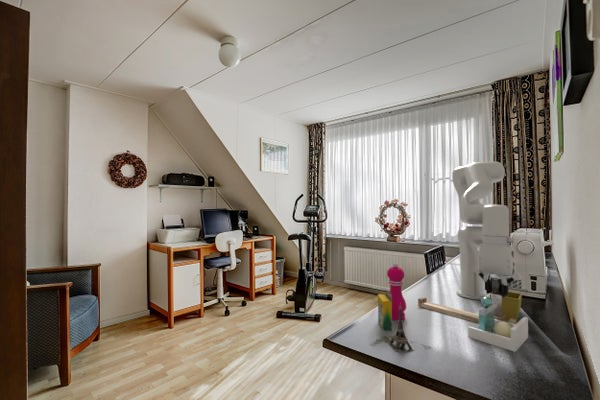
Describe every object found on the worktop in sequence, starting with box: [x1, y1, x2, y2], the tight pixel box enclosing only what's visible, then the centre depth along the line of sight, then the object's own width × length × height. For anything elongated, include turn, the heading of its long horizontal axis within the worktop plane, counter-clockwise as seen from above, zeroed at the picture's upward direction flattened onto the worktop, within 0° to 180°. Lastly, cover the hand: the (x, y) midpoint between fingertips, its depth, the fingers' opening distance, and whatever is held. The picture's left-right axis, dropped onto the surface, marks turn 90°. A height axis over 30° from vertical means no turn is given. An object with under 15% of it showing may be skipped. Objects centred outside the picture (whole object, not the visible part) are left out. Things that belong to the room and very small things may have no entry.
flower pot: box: [488, 291, 523, 322], centre depth 103 cm, size 9×9×9 cm
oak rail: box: [417, 296, 517, 324], centre depth 105 cm, size 4×32×3 cm, turn 39°
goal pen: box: [467, 316, 529, 353], centre depth 89 cm, size 14×12×6 cm
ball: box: [492, 321, 511, 338], centre depth 87 cm, size 5×5×5 cm
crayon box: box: [377, 289, 393, 332], centre depth 96 cm, size 7×3×12 cm, turn 178°
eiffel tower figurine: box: [370, 302, 434, 353], centre depth 83 cm, size 15×10×13 cm
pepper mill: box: [386, 262, 407, 322], centre depth 104 cm, size 7×7×20 cm
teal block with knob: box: [478, 276, 506, 332], centre depth 93 cm, size 16×4×15 cm, turn 129°
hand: (496, 294), depth 97 cm, fingers open, 3 cm apart
